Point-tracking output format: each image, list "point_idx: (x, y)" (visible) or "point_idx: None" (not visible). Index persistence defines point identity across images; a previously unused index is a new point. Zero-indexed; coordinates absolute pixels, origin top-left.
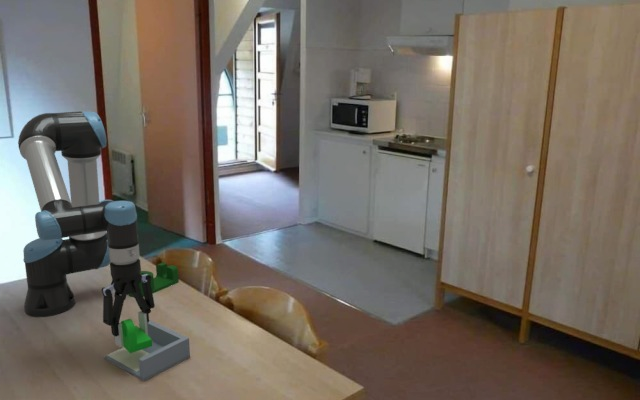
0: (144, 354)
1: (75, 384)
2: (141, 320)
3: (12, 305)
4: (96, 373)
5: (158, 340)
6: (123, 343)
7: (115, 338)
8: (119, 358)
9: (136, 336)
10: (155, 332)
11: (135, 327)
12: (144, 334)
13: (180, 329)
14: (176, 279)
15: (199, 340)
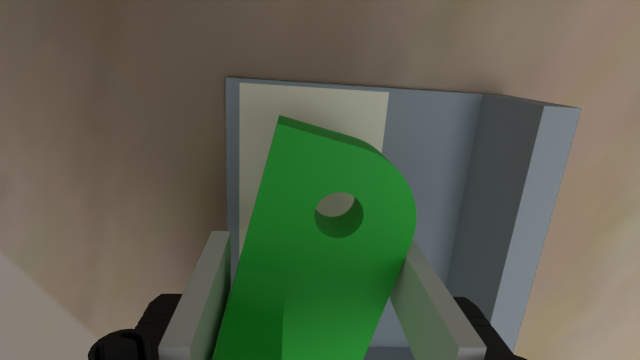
0: None
1: (11, 166)
2: (424, 331)
3: None
4: (128, 164)
5: (470, 210)
6: (226, 300)
7: (202, 257)
8: (258, 168)
9: (308, 336)
10: (494, 206)
11: (395, 230)
12: (355, 351)
13: (632, 154)
14: None
15: (572, 295)
